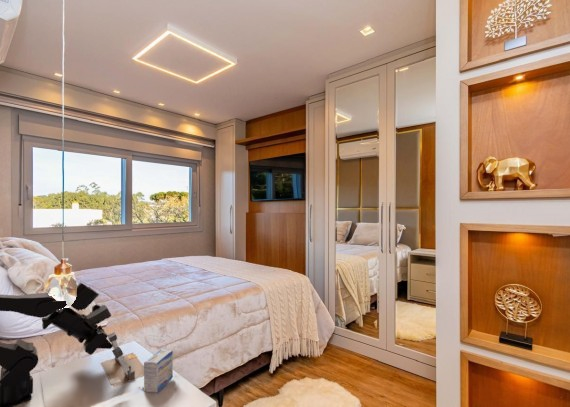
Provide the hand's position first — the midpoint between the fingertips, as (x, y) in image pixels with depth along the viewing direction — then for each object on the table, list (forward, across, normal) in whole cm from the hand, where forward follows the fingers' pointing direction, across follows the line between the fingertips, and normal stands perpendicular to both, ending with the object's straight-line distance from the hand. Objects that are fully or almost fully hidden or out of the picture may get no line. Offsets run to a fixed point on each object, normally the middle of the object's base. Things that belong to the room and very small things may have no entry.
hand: (111, 347), depth 96 cm
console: (+7, -6, +3) cm, 9 cm away
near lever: (+6, -12, +2) cm, 13 cm away
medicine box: (+11, -20, -1) cm, 23 cm away
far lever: (+6, 0, +2) cm, 6 cm away
